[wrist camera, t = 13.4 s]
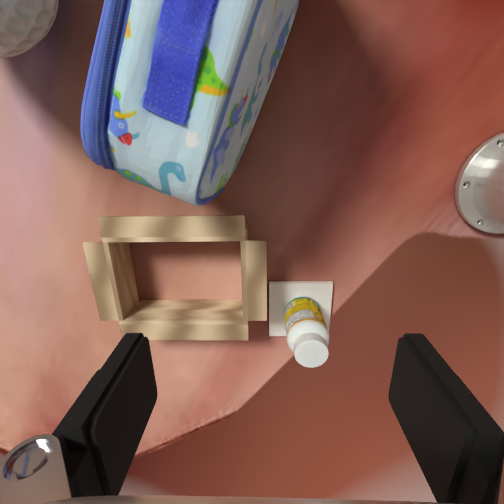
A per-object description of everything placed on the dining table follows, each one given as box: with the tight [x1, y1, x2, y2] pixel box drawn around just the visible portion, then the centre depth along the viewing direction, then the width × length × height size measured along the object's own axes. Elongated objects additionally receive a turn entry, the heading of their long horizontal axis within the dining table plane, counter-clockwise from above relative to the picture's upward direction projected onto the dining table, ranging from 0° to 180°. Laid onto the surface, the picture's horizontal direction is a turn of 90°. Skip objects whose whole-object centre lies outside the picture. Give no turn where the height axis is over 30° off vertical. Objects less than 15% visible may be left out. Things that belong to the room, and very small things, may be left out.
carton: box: [83, 215, 267, 340], centre depth 41 cm, size 22×17×6 cm
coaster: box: [269, 281, 333, 336], centre depth 45 cm, size 9×9×1 cm
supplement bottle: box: [284, 295, 329, 368], centre depth 40 cm, size 5×5×10 cm
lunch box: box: [80, 0, 299, 206], centre depth 24 cm, size 26×11×21 cm, turn 159°
